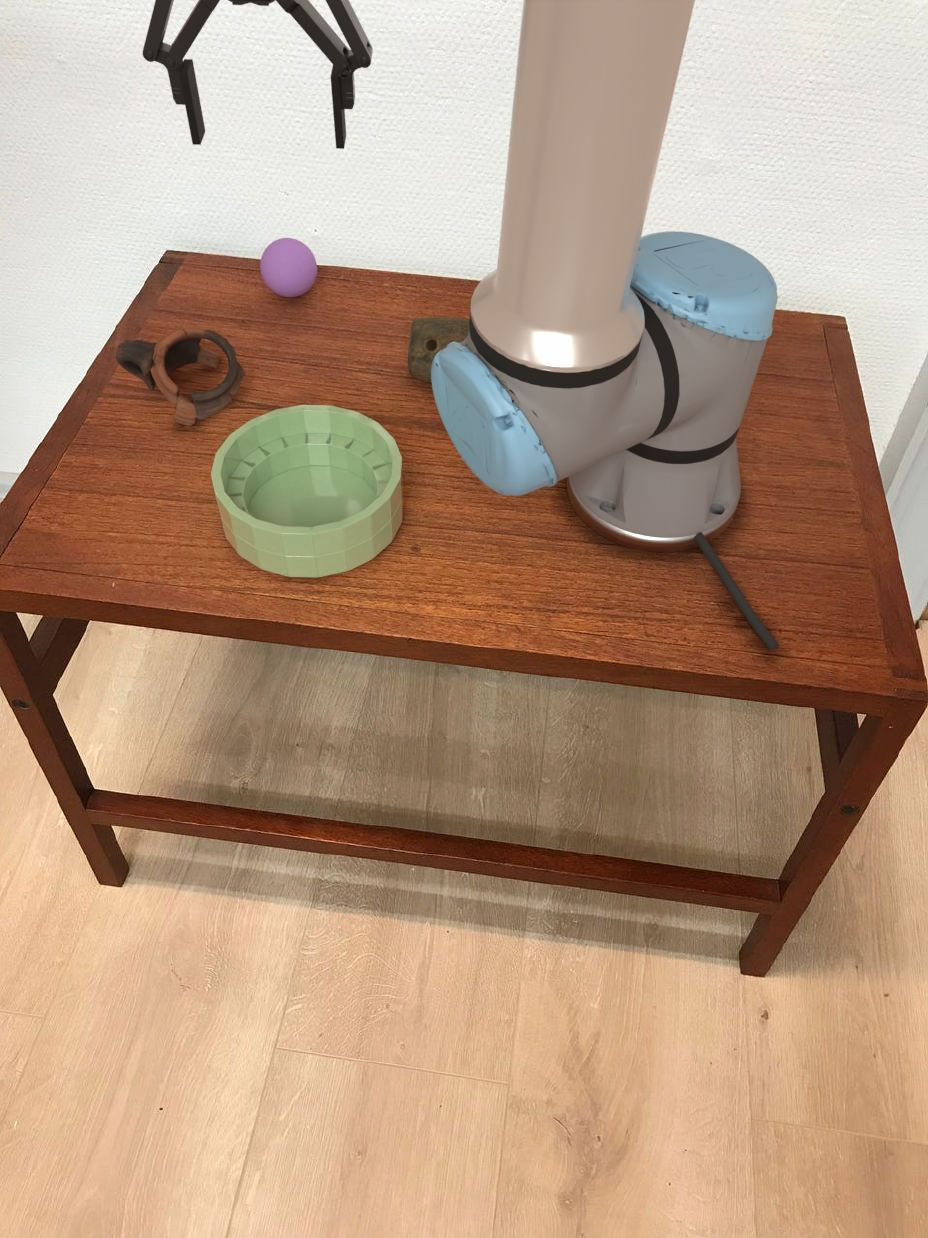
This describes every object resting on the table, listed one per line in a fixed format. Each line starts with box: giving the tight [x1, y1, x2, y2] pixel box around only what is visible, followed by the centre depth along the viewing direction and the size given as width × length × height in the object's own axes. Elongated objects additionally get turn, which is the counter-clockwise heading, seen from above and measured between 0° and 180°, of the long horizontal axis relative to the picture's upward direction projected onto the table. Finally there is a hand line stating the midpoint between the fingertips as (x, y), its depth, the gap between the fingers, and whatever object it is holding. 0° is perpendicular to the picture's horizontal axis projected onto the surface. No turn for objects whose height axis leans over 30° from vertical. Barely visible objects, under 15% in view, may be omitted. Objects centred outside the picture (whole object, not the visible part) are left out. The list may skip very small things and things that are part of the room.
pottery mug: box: [114, 327, 247, 427], centre depth 93 cm, size 12×10×8 cm
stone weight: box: [407, 315, 469, 384], centre depth 95 cm, size 15×7×7 cm, turn 87°
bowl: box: [210, 404, 405, 579], centre depth 83 cm, size 16×16×6 cm
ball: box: [259, 237, 318, 298], centre depth 104 cm, size 6×6×6 cm
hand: (270, 140), depth 94 cm, fingers open, 13 cm apart
